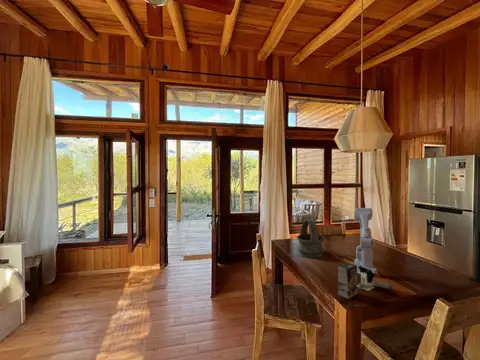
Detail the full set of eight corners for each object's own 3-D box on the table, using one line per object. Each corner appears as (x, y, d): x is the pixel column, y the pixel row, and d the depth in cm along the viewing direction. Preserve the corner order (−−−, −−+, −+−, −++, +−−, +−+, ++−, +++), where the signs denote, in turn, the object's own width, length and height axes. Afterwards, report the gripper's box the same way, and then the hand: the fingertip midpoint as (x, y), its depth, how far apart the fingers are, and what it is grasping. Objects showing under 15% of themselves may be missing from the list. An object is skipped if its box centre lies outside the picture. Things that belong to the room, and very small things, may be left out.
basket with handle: (296, 258, 193) (296, 221, 192) (297, 249, 215) (296, 216, 215) (325, 260, 187) (325, 221, 187) (322, 250, 210) (322, 216, 209)
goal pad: (356, 286, 143) (356, 285, 143) (363, 283, 147) (363, 282, 147) (367, 291, 137) (367, 290, 137) (374, 287, 141) (374, 287, 141)
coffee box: (348, 299, 129) (348, 269, 129) (337, 294, 134) (337, 265, 134) (357, 293, 134) (357, 265, 134) (346, 289, 139) (346, 262, 139)
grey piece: (355, 285, 144) (355, 280, 144) (388, 285, 143) (388, 280, 143) (359, 289, 139) (359, 284, 139) (393, 290, 138) (393, 284, 138)
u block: (366, 285, 140) (366, 275, 140) (361, 282, 145) (361, 272, 145) (373, 285, 141) (373, 275, 141) (368, 281, 146) (367, 271, 145)
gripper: (381, 261, 136) (381, 285, 136) (365, 253, 150) (365, 275, 151) (369, 262, 135) (370, 286, 135) (354, 254, 149) (355, 275, 150)
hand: (367, 280), depth 143 cm, fingers closed on u block, 5 cm apart
